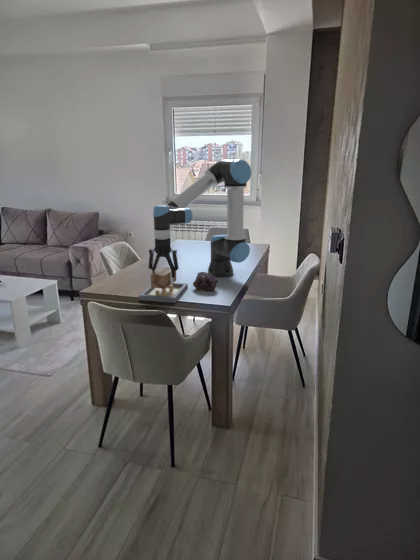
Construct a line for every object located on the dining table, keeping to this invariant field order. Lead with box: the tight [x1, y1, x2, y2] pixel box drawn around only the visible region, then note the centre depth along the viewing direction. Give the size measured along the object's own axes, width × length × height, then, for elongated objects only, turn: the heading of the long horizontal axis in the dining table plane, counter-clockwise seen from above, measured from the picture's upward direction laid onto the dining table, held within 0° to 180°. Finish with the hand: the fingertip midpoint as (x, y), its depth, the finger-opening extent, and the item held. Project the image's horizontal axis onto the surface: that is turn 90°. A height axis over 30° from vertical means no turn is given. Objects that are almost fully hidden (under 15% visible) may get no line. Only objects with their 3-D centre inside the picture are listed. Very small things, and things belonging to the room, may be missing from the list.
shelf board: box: [150, 266, 177, 289], centre depth 189 cm, size 7×14×6 cm, turn 160°
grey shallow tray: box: [139, 282, 189, 304], centre depth 191 cm, size 18×22×3 cm
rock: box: [192, 271, 219, 292], centre depth 198 cm, size 12×9×10 cm
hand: (164, 282), depth 190 cm, fingers closed on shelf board, 7 cm apart
